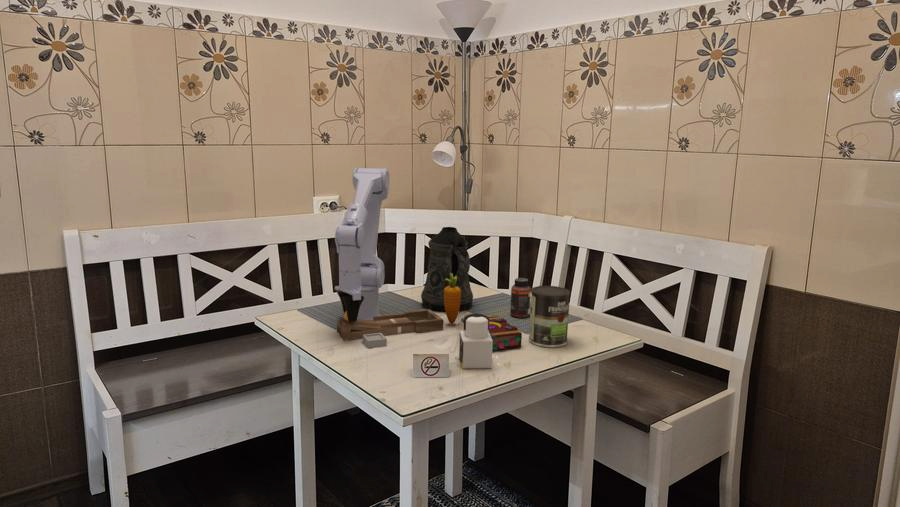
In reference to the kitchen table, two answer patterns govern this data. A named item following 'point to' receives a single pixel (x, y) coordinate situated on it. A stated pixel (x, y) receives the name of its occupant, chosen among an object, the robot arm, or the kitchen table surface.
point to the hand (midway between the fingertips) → (350, 318)
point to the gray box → (374, 340)
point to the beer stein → (447, 269)
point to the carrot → (452, 299)
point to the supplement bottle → (520, 298)
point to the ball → (346, 316)
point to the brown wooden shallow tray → (390, 324)
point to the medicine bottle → (475, 342)
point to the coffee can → (549, 316)
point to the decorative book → (503, 334)
